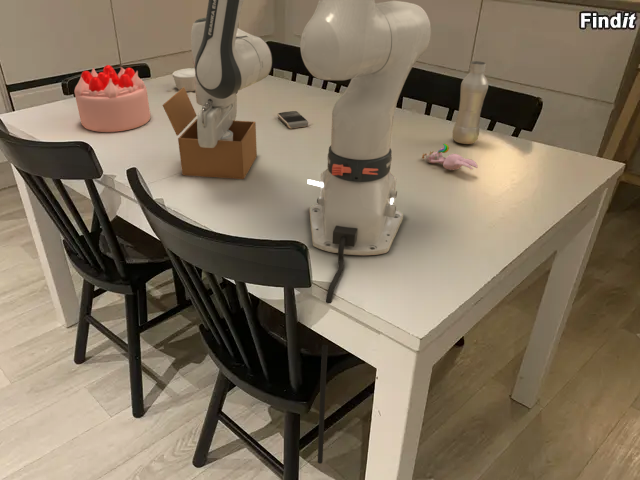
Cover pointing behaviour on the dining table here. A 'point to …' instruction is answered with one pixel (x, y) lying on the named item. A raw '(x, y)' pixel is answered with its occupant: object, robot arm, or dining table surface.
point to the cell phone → (292, 119)
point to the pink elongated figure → (449, 159)
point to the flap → (179, 111)
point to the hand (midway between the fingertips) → (220, 152)
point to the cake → (112, 100)
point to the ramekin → (185, 79)
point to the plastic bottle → (471, 104)
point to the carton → (219, 152)
